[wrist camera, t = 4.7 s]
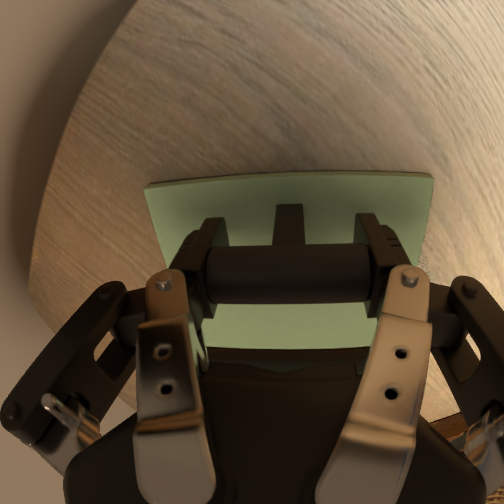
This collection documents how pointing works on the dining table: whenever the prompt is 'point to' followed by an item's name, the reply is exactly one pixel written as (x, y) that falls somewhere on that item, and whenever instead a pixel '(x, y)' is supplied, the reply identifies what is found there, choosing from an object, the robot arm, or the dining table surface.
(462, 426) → the book
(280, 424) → the robot arm
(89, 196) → the dining table surface
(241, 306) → the sign
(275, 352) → the stand
